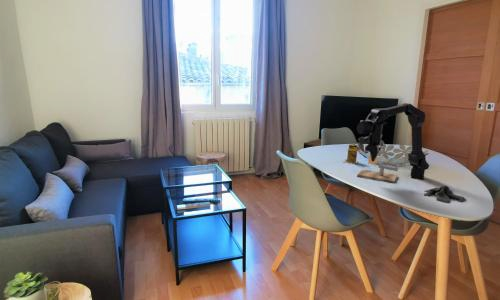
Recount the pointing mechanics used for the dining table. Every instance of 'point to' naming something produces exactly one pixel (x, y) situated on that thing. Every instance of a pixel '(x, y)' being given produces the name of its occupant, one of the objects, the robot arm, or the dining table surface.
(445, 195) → the cloth
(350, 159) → the condiment
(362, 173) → the keeper plate
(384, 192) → the dining table surface
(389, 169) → the link
